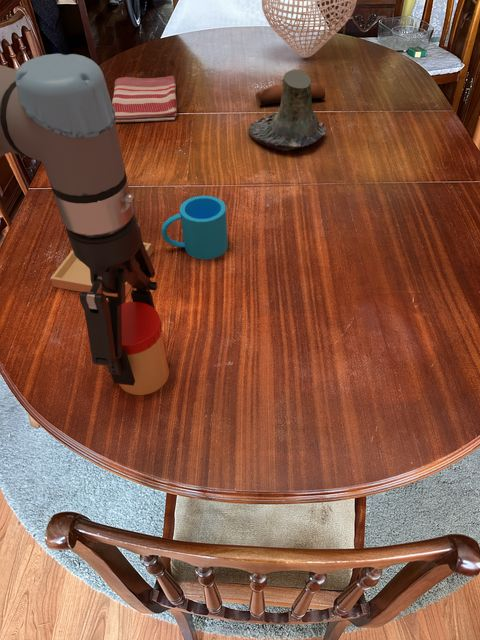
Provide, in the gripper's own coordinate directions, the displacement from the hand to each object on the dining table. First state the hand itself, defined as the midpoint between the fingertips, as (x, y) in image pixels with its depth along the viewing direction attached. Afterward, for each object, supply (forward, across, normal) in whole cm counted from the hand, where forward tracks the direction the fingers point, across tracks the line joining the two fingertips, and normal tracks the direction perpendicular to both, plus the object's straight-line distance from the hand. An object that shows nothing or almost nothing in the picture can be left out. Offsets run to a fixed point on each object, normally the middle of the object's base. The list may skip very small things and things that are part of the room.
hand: (137, 352), depth 72 cm
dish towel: (+5, +90, +28) cm, 94 cm away
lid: (-6, 0, 0) cm, 6 cm away
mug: (+5, +31, 0) cm, 32 cm away
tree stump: (+5, +77, -12) cm, 78 cm away
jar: (+5, 0, 0) cm, 5 cm away
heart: (+5, +130, -12) cm, 130 cm away
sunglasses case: (+5, +98, -10) cm, 99 cm away
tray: (+5, +22, +14) cm, 27 cm away
